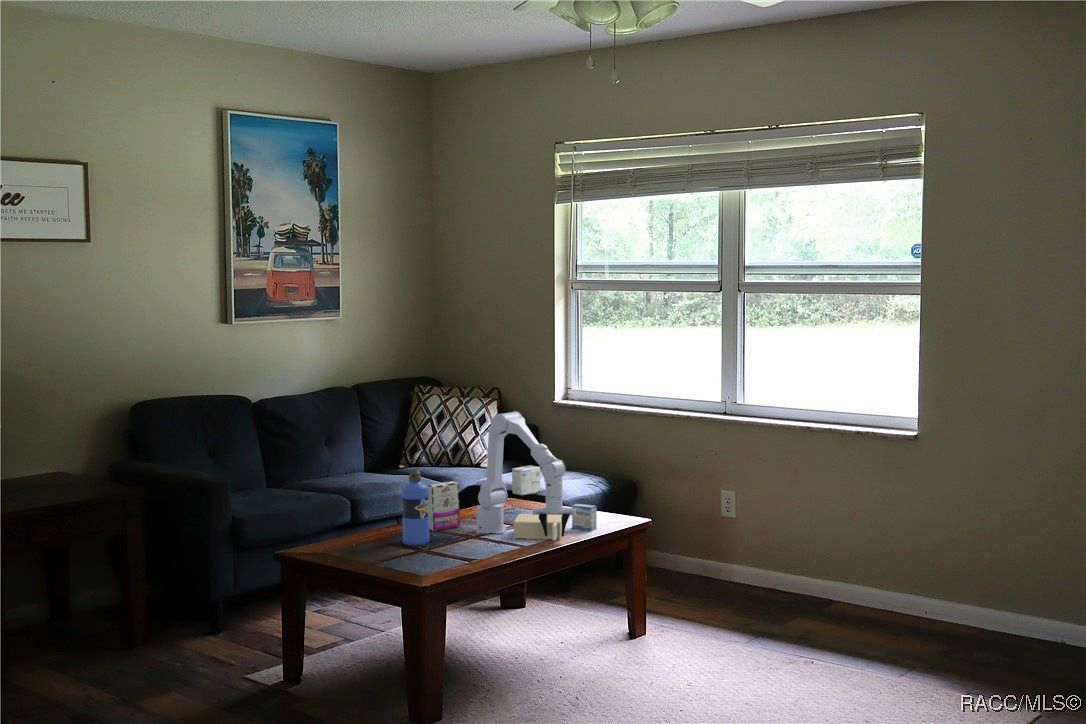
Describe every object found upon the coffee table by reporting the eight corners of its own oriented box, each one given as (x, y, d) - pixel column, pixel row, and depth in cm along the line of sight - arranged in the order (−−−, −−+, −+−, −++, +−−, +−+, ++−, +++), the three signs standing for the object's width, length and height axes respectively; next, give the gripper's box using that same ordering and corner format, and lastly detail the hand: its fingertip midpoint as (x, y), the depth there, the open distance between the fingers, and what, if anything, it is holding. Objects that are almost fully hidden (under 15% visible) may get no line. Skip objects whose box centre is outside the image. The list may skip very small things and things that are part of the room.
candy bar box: (452, 524, 391) (452, 480, 390) (460, 527, 387) (459, 482, 386) (426, 529, 385) (425, 484, 383) (433, 531, 381) (432, 486, 379)
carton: (514, 538, 369) (514, 521, 368) (519, 530, 381) (518, 514, 380) (560, 539, 367) (560, 522, 366) (563, 531, 379) (563, 514, 378)
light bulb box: (531, 489, 457) (530, 464, 456) (541, 492, 451) (540, 466, 451) (511, 493, 450) (511, 467, 449) (521, 495, 445) (521, 469, 444)
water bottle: (435, 540, 367) (434, 468, 365) (417, 546, 359) (416, 473, 357) (414, 537, 372) (413, 466, 370) (396, 543, 364) (395, 470, 363)
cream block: (511, 542, 362) (511, 525, 361) (514, 538, 368) (514, 521, 368) (558, 543, 360) (558, 526, 360) (560, 538, 367) (560, 522, 366)
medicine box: (571, 529, 382) (571, 505, 381) (577, 526, 386) (576, 503, 385) (591, 531, 378) (591, 507, 377) (597, 528, 382) (596, 505, 381)
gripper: (531, 498, 358) (531, 538, 359) (574, 498, 356) (574, 538, 357) (533, 494, 365) (534, 533, 366) (576, 494, 363) (576, 533, 364)
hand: (554, 535), depth 362 cm, fingers open, 5 cm apart
